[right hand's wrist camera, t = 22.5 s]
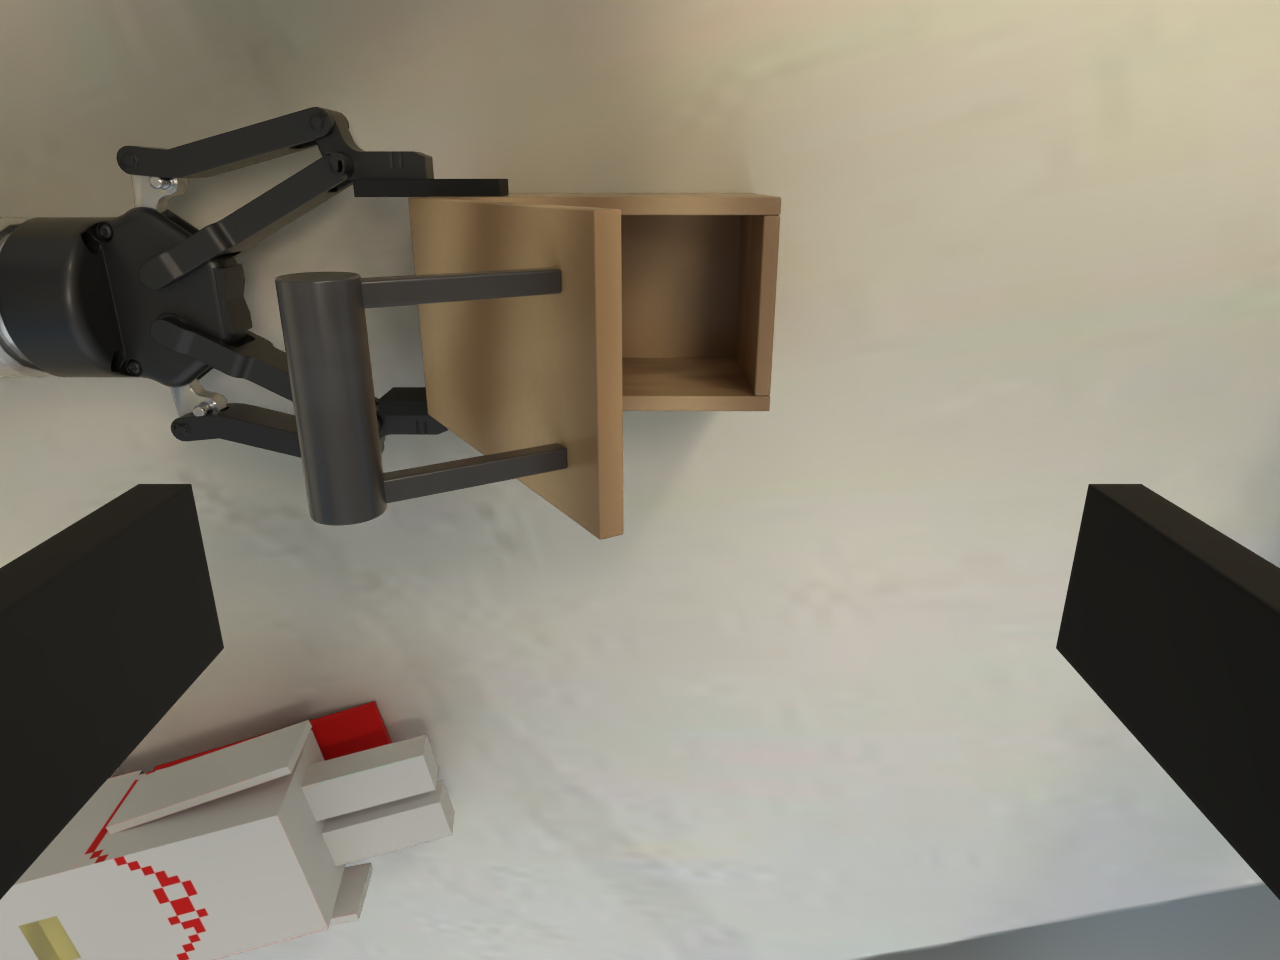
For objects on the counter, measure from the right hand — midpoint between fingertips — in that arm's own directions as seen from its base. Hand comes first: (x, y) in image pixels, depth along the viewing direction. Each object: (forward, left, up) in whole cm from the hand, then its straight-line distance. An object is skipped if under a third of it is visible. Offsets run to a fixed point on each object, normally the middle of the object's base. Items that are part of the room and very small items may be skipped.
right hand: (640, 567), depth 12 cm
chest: (+1, -1, -36) cm, 36 cm away
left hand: (+4, -5, -29) cm, 30 cm away
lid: (+3, -4, -19) cm, 20 cm away
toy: (+44, 0, -36) cm, 56 cm away
